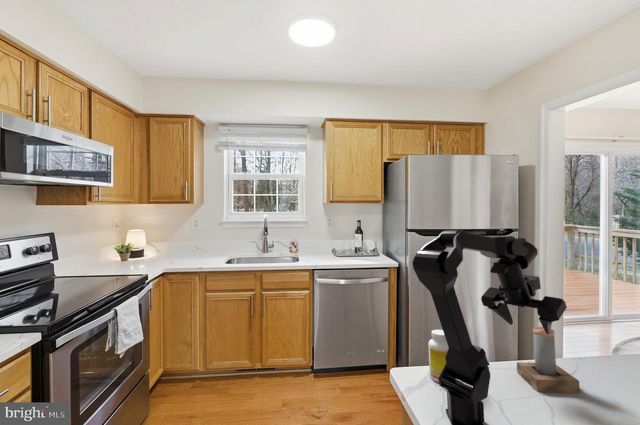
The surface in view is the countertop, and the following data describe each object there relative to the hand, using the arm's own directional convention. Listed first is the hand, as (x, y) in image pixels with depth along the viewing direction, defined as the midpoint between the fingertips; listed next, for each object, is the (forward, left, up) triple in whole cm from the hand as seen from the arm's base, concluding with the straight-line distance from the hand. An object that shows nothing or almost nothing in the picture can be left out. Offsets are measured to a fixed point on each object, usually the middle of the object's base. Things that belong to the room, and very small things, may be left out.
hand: (529, 328), depth 83 cm
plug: (+4, +1, -15) cm, 15 cm away
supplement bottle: (-23, +1, -15) cm, 27 cm away
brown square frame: (+4, +1, -15) cm, 15 cm away
